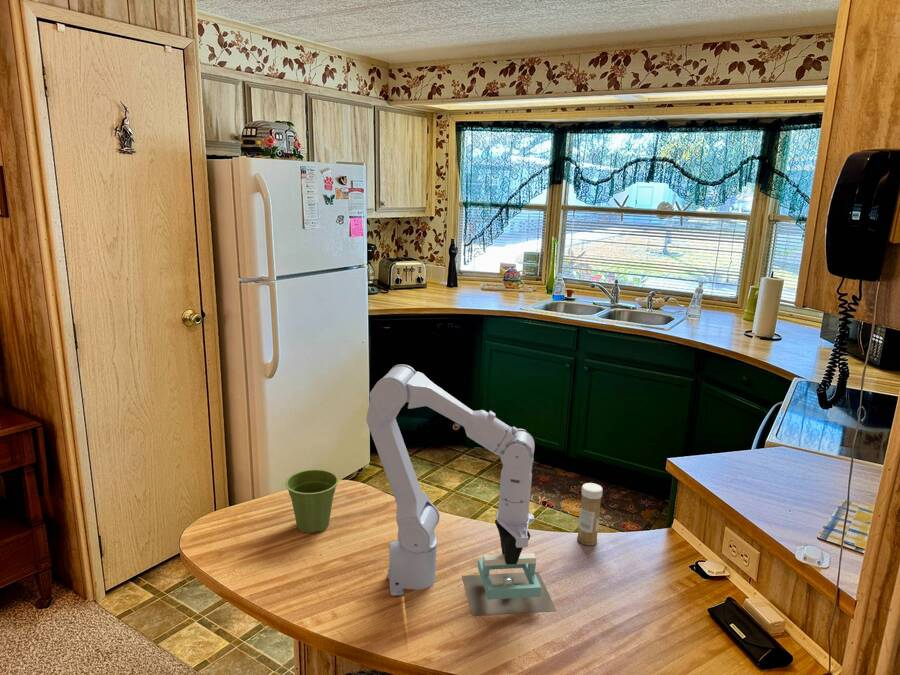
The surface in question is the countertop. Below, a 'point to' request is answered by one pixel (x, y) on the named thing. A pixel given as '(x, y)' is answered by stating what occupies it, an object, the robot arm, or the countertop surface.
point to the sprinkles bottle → (589, 513)
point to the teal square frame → (512, 591)
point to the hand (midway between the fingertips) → (509, 559)
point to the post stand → (505, 606)
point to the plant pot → (312, 498)
